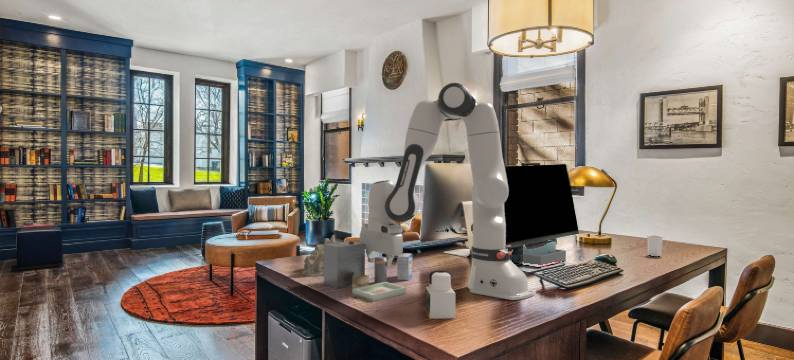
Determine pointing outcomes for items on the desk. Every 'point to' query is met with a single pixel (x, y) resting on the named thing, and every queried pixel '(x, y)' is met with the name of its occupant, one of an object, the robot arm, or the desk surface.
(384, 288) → the tray
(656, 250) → the drinking glass
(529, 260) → the organizer bin
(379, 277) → the cartridge
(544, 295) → the desk surface
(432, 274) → the medicine bottle
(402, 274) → the medicine box
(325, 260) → the console
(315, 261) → the ceramic cottage
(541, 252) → the squiggly pen holder
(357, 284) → the maple block
